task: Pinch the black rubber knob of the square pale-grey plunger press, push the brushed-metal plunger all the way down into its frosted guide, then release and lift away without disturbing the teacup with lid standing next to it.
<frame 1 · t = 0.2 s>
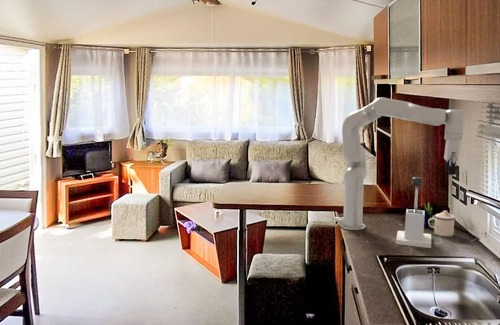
hand: (450, 172, 208), 31 cm above the worktop, tool pointing down, fingers open, 9 cm apart
teacup with lid: (440, 233, 219), on the worktop
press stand: (413, 241, 208), on the worktop
plunger: (416, 197, 204), point 21 cm above the worktop, slide at 0.0 cm
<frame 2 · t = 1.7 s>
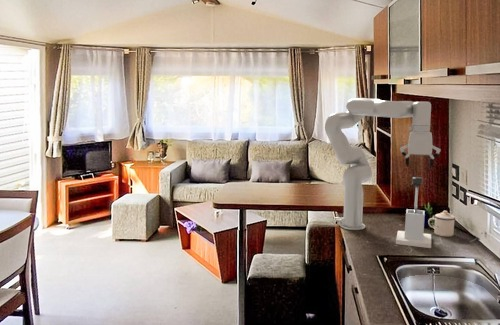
hand: (419, 166, 202), 35 cm above the worktop, tool pointing down, fingers open, 9 cm apart
nothing on the worktop moved.
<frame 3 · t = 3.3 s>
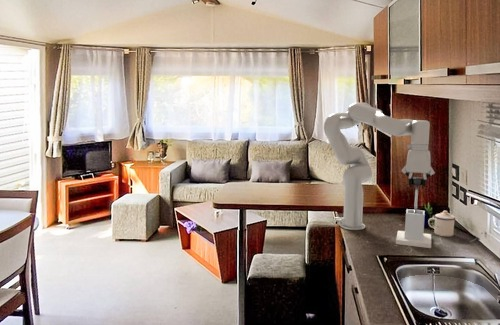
hand: (416, 186, 204), 26 cm above the worktop, tool pointing down, fingers closed on plunger, 4 cm apart
plunger: (416, 197, 204), point 21 cm above the worktop, slide at 0.0 cm, touching gripper
everything else where it was.
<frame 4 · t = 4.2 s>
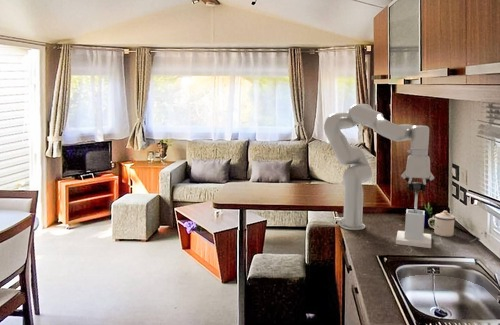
hand: (416, 191, 204), 23 cm above the worktop, tool pointing down, fingers closed on plunger, 4 cm apart
plunger: (416, 202, 205), point 19 cm above the worktop, slide at 2.4 cm, touching gripper
everything else where it was.
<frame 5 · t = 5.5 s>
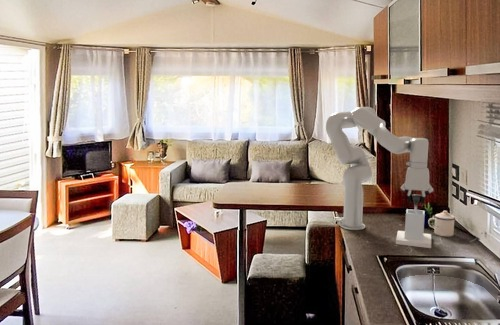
hand: (415, 204, 205), 18 cm above the worktop, tool pointing down, fingers closed on plunger, 4 cm apart
plunger: (415, 214, 206), point 13 cm above the worktop, slide at 8.1 cm, touching gripper
everything else where it was.
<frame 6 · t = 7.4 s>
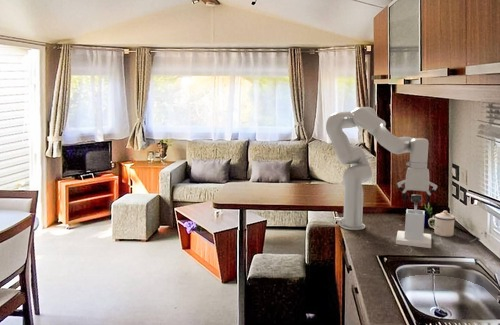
hand: (415, 202, 205), 19 cm above the worktop, tool pointing down, fingers open, 9 cm apart
plunger: (415, 214, 206), point 13 cm above the worktop, slide at 8.1 cm
everything else where it was.
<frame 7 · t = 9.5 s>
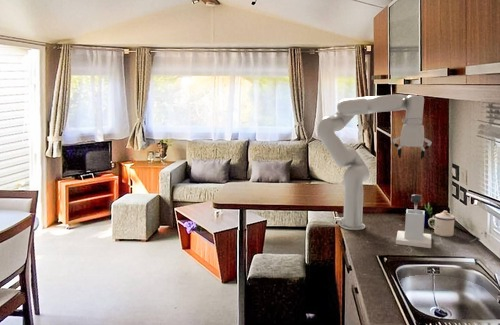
hand: (410, 158, 209), 38 cm above the worktop, tool pointing down, fingers open, 9 cm apart
nothing on the worktop moved.
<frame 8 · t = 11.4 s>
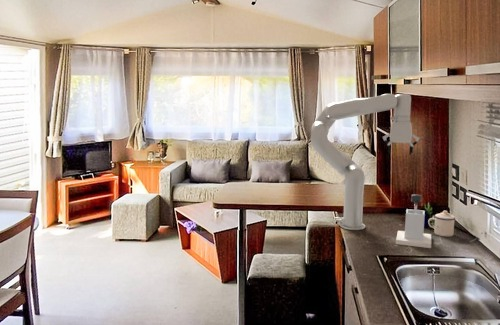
hand: (399, 153, 221), 38 cm above the worktop, tool pointing down, fingers open, 9 cm apart
nothing on the worktop moved.
at the end: plunger slide at 8.1 cm; the gripper is holding nothing; teacup with lid moved 0.2 cm from its start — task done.
